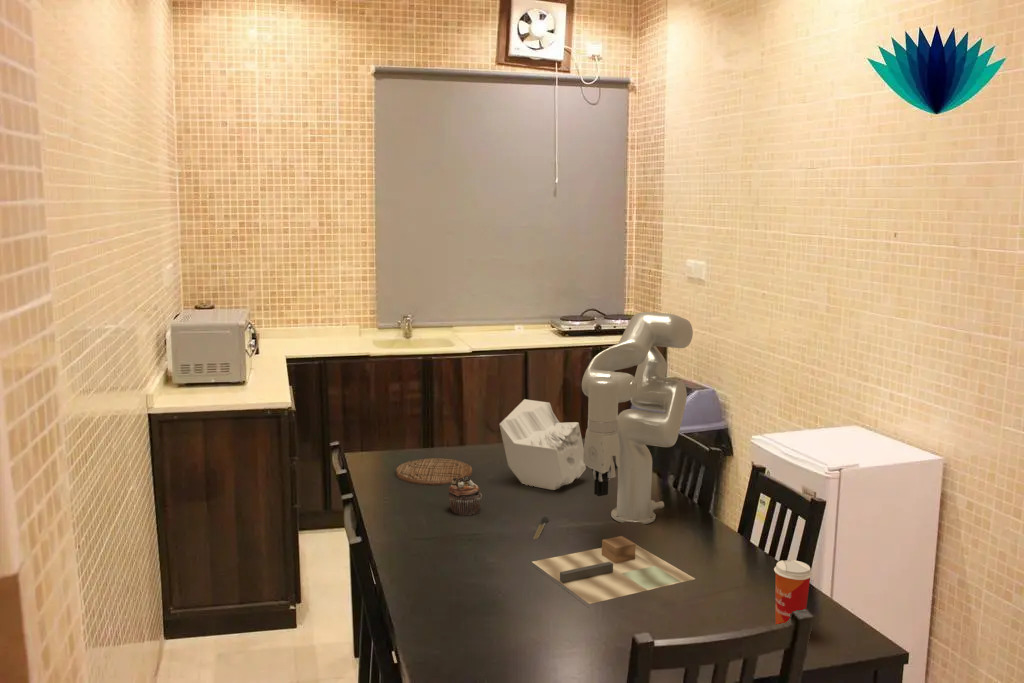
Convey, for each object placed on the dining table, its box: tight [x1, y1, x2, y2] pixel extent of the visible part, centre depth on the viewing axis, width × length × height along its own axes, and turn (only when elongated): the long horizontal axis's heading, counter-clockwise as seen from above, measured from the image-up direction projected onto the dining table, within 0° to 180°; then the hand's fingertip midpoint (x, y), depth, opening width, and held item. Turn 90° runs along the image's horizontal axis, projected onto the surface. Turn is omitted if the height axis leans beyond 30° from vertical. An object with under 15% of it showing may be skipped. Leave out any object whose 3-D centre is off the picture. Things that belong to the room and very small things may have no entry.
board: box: [532, 544, 696, 609], centre depth 213 cm, size 30×26×1 cm
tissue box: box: [498, 398, 587, 491], centre depth 279 cm, size 20×16×25 cm
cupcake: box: [448, 476, 483, 516], centre depth 255 cm, size 10×10×10 cm
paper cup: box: [773, 559, 813, 625], centre depth 186 cm, size 8×8×14 cm
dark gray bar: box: [560, 562, 613, 583], centre depth 209 cm, size 14×2×2 cm, turn 118°
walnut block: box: [601, 535, 637, 563], centre depth 221 cm, size 6×6×4 cm
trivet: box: [396, 457, 473, 486], centre depth 291 cm, size 25×25×2 cm
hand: (601, 494), depth 227 cm, fingers closed
